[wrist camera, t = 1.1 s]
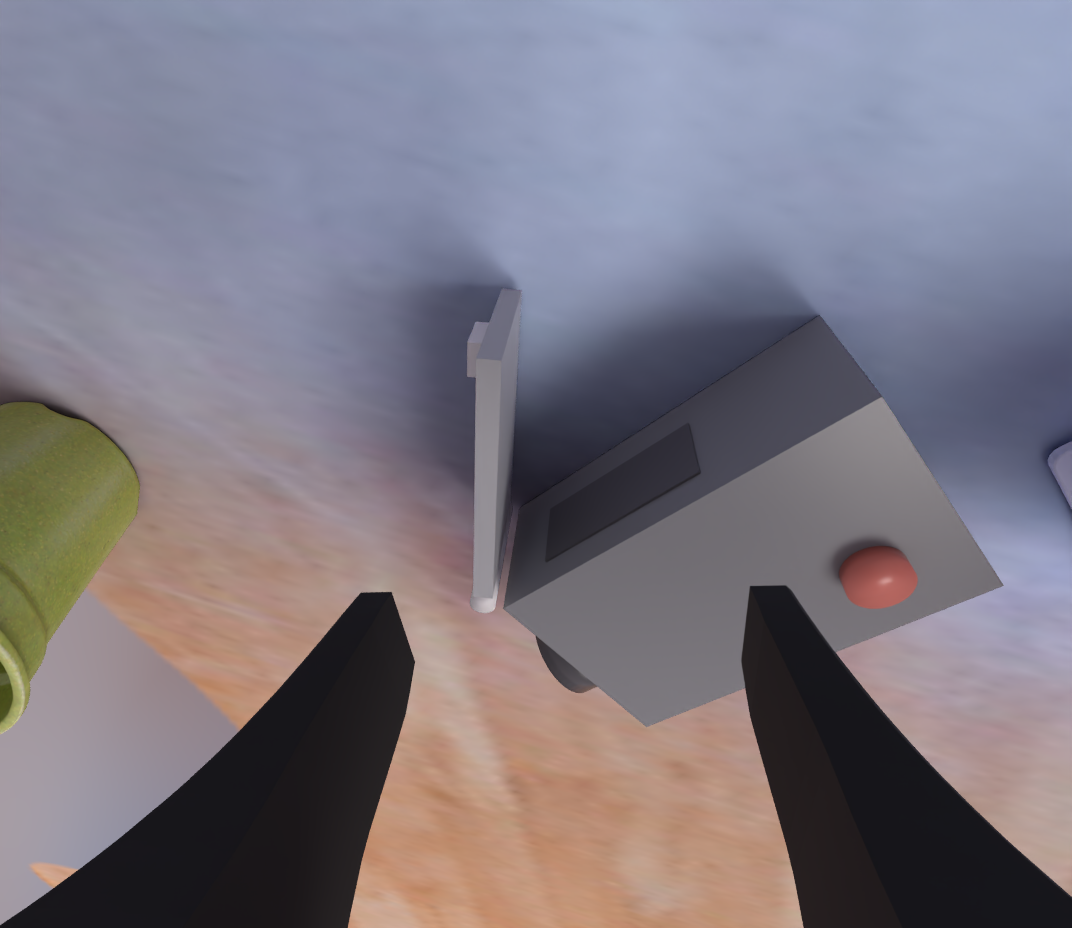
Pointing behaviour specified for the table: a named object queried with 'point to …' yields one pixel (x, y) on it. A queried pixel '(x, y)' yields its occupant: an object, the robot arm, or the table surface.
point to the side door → (493, 440)
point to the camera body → (738, 532)
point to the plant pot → (51, 531)
